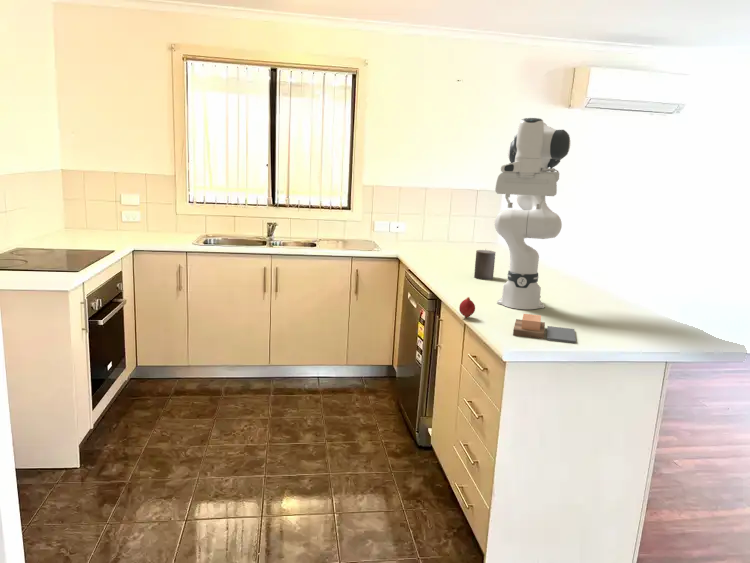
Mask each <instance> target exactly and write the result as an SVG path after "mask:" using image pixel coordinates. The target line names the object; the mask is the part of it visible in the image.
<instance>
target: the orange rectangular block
mask: <svg viewBox="0 0 750 563" xmlns="http://www.w3.org/2000/svg"><path fill="white" fill-rule="evenodd" d="M522 314H523V315H522V319H521V320H522V329H530V330H539V331H540V323H541V322H542V315H539V314H532V313H522Z"/></svg>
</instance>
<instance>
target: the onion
mask: <svg viewBox="0 0 750 563" xmlns="http://www.w3.org/2000/svg"><path fill="white" fill-rule="evenodd" d="M458 308H459V312H460V314H461V315H462V316H464V317H465V319H466V318H467V319H468V318H470V317H471V316H472V315H473V314H474V313H475V311H476V305H475V303H474V302H473V301H472V300H471V298H470V296H468V297H466V298H465V299H464V300H462V301H461V302H460V304H459V307H458Z"/></svg>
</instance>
